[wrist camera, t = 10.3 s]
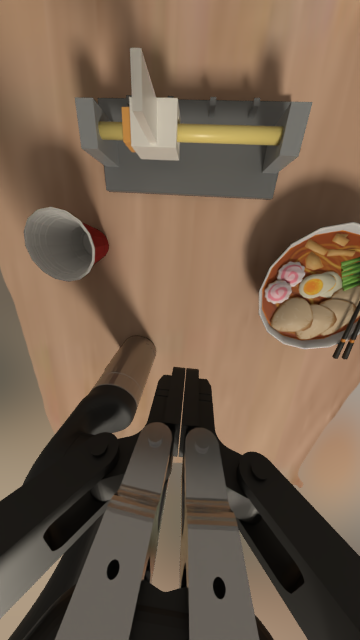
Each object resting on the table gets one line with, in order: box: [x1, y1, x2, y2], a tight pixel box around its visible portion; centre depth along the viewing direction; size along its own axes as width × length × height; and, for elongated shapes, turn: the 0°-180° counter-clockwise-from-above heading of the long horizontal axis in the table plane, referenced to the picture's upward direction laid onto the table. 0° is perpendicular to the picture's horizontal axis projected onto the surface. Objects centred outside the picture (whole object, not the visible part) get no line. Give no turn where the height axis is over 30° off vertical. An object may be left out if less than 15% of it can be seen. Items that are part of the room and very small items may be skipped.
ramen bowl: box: [259, 222, 360, 359], centre depth 35 cm, size 25×23×8 cm
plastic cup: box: [24, 207, 109, 281], centre depth 34 cm, size 11×11×12 cm
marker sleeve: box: [129, 48, 181, 161], centre depth 22 cm, size 6×5×12 cm
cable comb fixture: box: [75, 95, 312, 200], centre depth 27 cm, size 30×12×9 cm, turn 87°
